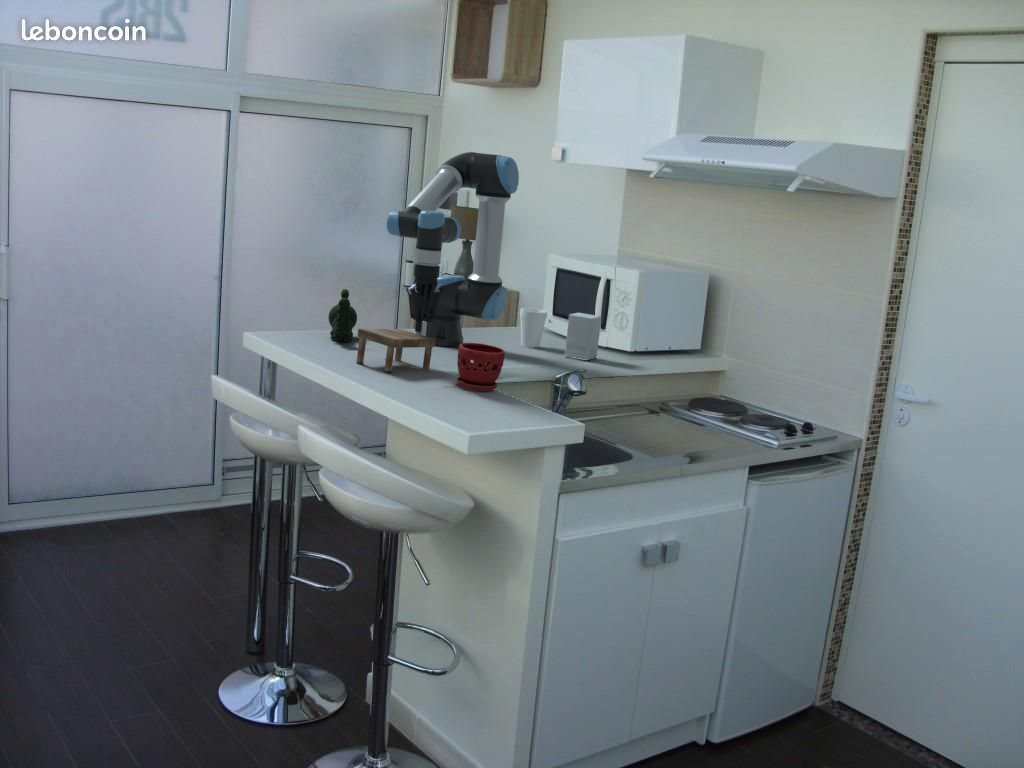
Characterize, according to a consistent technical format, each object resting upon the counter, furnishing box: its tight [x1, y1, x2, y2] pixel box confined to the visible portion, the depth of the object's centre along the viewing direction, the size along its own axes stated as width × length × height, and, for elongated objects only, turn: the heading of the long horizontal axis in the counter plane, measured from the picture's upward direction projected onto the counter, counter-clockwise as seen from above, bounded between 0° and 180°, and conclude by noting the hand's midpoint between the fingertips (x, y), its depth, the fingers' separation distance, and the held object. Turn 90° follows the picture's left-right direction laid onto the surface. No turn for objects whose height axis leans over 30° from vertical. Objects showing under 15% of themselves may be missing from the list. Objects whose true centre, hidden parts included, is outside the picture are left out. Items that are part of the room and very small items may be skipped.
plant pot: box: [456, 342, 506, 392], centre depth 311 cm, size 13×13×12 cm
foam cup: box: [519, 307, 548, 348], centre depth 389 cm, size 10×9×13 cm
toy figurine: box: [327, 288, 358, 343], centre depth 363 cm, size 9×19×25 cm
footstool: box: [356, 328, 436, 374], centre depth 323 cm, size 10×16×16 cm
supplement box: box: [564, 312, 602, 361], centre depth 378 cm, size 9×9×15 cm
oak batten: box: [383, 358, 430, 373], centre depth 328 cm, size 2×19×1 cm, turn 47°
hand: (420, 342), depth 330 cm, fingers closed
